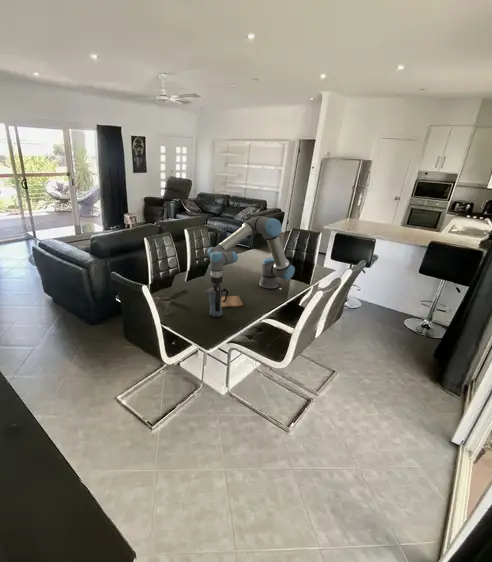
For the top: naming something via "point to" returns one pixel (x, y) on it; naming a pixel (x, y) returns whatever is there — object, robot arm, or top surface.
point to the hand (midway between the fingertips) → (216, 308)
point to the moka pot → (212, 299)
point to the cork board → (231, 302)
